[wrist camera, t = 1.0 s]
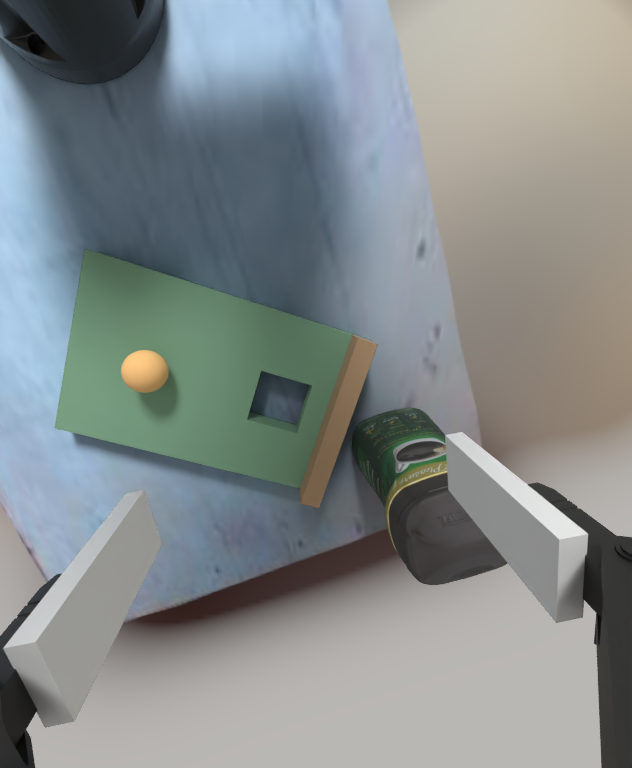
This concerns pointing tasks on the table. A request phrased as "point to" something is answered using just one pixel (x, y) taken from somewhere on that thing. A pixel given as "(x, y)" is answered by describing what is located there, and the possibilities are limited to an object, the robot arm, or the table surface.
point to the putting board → (207, 375)
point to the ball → (144, 371)
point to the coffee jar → (421, 498)
